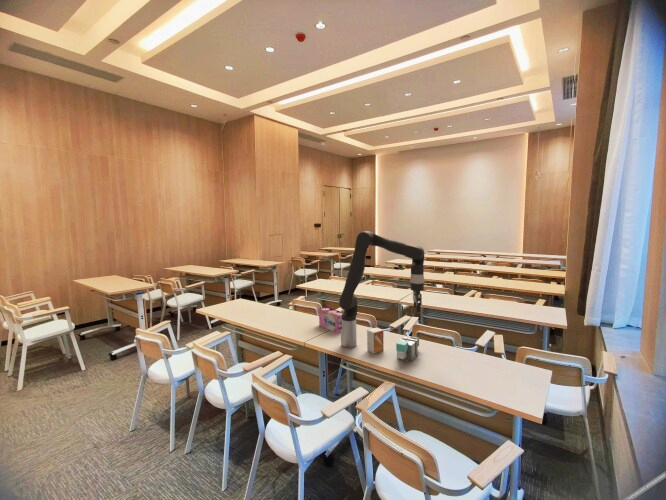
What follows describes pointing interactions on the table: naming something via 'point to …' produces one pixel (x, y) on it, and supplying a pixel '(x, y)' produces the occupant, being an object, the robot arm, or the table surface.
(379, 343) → the small box
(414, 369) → the table surface
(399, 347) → the block
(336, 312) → the gum box
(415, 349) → the bearing blocks
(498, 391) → the table surface
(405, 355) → the shaft
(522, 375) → the table surface
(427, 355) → the table surface
